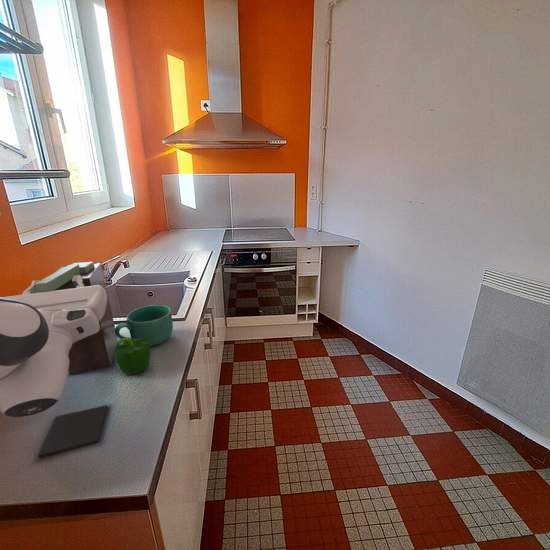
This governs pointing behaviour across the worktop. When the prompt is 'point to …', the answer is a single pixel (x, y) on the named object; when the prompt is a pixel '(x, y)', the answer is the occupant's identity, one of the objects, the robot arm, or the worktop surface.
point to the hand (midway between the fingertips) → (58, 279)
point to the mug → (148, 324)
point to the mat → (74, 431)
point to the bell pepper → (132, 355)
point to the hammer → (63, 276)
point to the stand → (96, 346)
